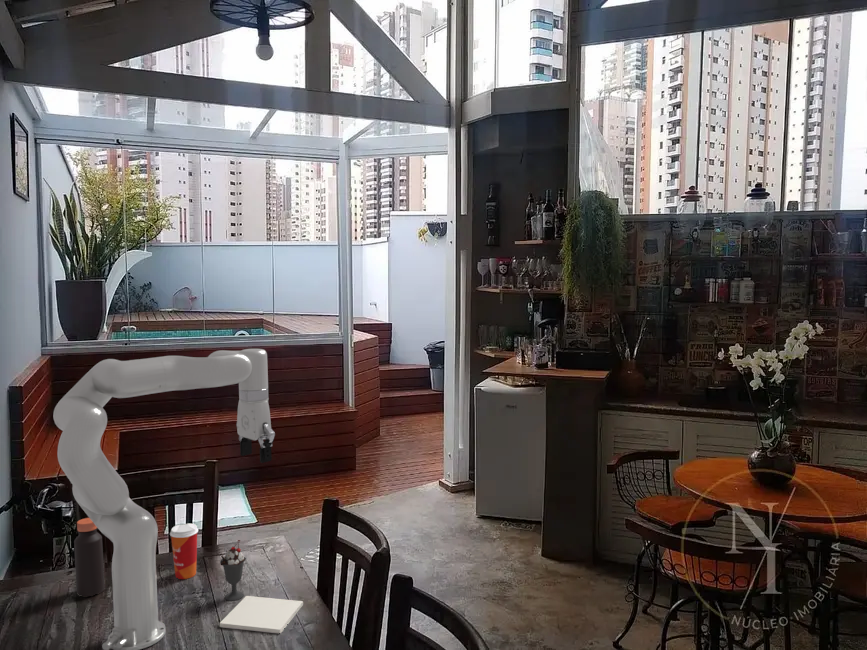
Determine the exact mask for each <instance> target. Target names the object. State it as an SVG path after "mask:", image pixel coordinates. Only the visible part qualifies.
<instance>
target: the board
mask: <svg viewBox="0 0 867 650" xmlns="http://www.w3.org/2000/svg"><path fill="white" fill-rule="evenodd" d="M303 606H304V601H302V600H294V599H293V600H292V599H283V598H274V597H272V598H271V597H262V596H253V595H245V597H243V598H242V599H241V601H240V602H239V603H238V604H236V606H235V607H234V608H232V610H231V611H230V612H229V613H228V614H227V615H226V616H225V617H224V618H223V619H222V620H221V621H220V622H219V628H224V629H225V628H226V629H236V630H242V631H243V630H244V631H255V632H263V633H271V634H279V633H280V634H282V632H283V631H284V630H285V629H284V628H286V627H287V626H288V625H289V623H290V622H291V621H292V620H293V619H294V617H295V616H296V615H297V613H298V612H299V611H300V610H301V608H302V607H303ZM287 624H288V625H287Z"/></svg>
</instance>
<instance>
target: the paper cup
mask: <svg viewBox="0 0 867 650" xmlns="http://www.w3.org/2000/svg"><path fill="white" fill-rule="evenodd" d="M198 532H199V529H198V526H197V525H196V524H195V523H182V524H178V525H174V526H173V527H172V528H171V530H170V532H169V535H170V538H171V547H172V557H173V565H174V566H173V567H174V568H173V569H174V574H175V578H176V579H177V578H178V580H187V579H190V578H191V579H192V578H194V577H195V576H196V575H197V561H198V560H197V557H198V556H197V555H198Z"/></svg>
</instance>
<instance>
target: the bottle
mask: <svg viewBox="0 0 867 650" xmlns="http://www.w3.org/2000/svg"><path fill="white" fill-rule="evenodd" d="M76 527H77V528H76V529H77V533H78V535H77V537H75V539H74V541H73V543H74V545H73V546H74V547H73V549H74V563H75V564H74V566H75V582H76V583H75V585H76V586H75V587H76V594H77V593H78V594H79V595H82V596H91V597H93V596H92V595H95V594H98V593H100V592H101V593H103V592H104V591H105V573H104V572H105V571H104V552H103V551H104V550H103V549H104V548H103V536H102V535H101V534H100V533H99V532H98V531H97V530H99V529H98V528H97V527H96V525H95V524H94V523H93V522H92V520H91V519H90V518H89V517H85V518H82V519H79V520H78V521H76ZM101 593H100V594H101ZM98 595H99V594H98ZM95 596H96V595H95Z"/></svg>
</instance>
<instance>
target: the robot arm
mask: <svg viewBox="0 0 867 650" xmlns="http://www.w3.org/2000/svg"><path fill="white" fill-rule="evenodd" d="M268 367H269V365H268V353H267V351H266V350H265V349H263V348H245V349H242V350H225V349H224V350H223V349H222V350H216V351H213V352H212V353H210V354H209V355H208V356H206V357H200V356H199V357H193V356H184V355H164V356H156V357H148V358H140V359H139V358H138V359H129V360H119V359H115V358H107V359H103V360H101V361H99V362H98V363H96V364H95V365H94V366H93V367H91V369H89V371H88V372H86V373H85V374H84V375H83V376H82V377H81V378H80V379H79V380H78V381H77V382H76V383H75V384H74V385H73V386H72V388H70V389H69V390H68V392H66V394H64V395H63V396H62V398H61V399H60V400H59V401H58V403H56V405H55V407H54V409H53V421H54V425H56V427H57V428H58V429H59V430H61V431H62V432H61V435H60V437H59V439H58V444H57V461H58V464H59V466H60V468H61V470H62V472H63V473H64V474H65V476H66V478H67V479H68V480H69V482H70V484H72V487H71V489H72V495H73V497H74V500H75V501H76V503H77V504H78V505H79V506H80V508H81V509H82V510H83V511H84V513H85V514H86V516H87V518H90V519H91V520H92V522H93V523H94V524H95V525H96V527H97V528H98V529H97V530H99V531H100V532H101V534H102V535H103V536H105V537H106V538H107V539H109V540H110V542H111V543H112V545H113V554H112V559H111V561H112V562H111V580H112V581H111V582H112V583H111V584H112V602H113V619H114V620H113V621H114V622H113V624H114V627H113V628H112V629H111V631H112V632H110V634H109V635H108V637H107V640H106V641H105V642H103V643H102V644H101V646H102V647H101V648H102V649H103V650H142V649H146V648H148V647H149V648H150V647H151V646H153V645H155V644H157V643H159V642H160V641H161V640H162V639H163V638H164V636H165V635H166V625H165V623H164V622H162V620H159V608H158V604H159V603H158V585H157V584H158V583H157V566H156V565H157V564H156V563H157V562H156V561H157V560H156V559H157V558H156V557H157V556H156V555H157V554H156V552H157V543H158V534H159V533H158V532H159V530H158V524H157V521H156V519H155V517H154V516H153V515H152V514H151V513H150V512H149V511H148V510H146V509H145V508H143V507H142V506H140V505H138V504H137V503H136V502H134V501H133V500H132V499H131V498H130V492H129V488H128V485H127V483H126V482H125V480H124V478H123V477H121V476H120V474H119V473H118V472H117V470H116V469H115V468H114V467H113V465H112V464H111V462H110V461H109V460H108V459H107V457H106V455H105V454H104V452H103V450H102V448H101V440H102V436H103V435H104V432H105V430H106V428H107V424H108V415H107V414H108V413H107V412H106V410H105V409H104V407H105V406H106V404H107V403H108V402H109V401H110V400H111V399H112V398H117V399H126V398H133V397H140V396H145V395H151V394H158V393H165V392H172V391H188V390H195V389H196V390H197V389H210V388H218V387H225V386H230V385H236V384H238V396H239V397H238V398H239V400H238V405H237V416H236V419H237V420H236V424H235V425H236V426H235V427H236V429H237V435H238V440H239V448H240V449H239V451H240V456H241V457H244V456H248V455H252V453H253V449H252V448H253V446H252V445H253V443H252V441H257V440H258V441H257V442H258V443H259V445H260V447H259V463H260V464H264V463H268V462H271V461H272V447H273V443H274V442H275V441H274V440H275V436H276V433H275V431H274V430H273V428H272V424H271V423H272V421H271V411H270V410H271V409H270V405H269V399H270V398H269V375H268V374H269V373H268V372H269V371H268V369H269V368H268Z"/></svg>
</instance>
